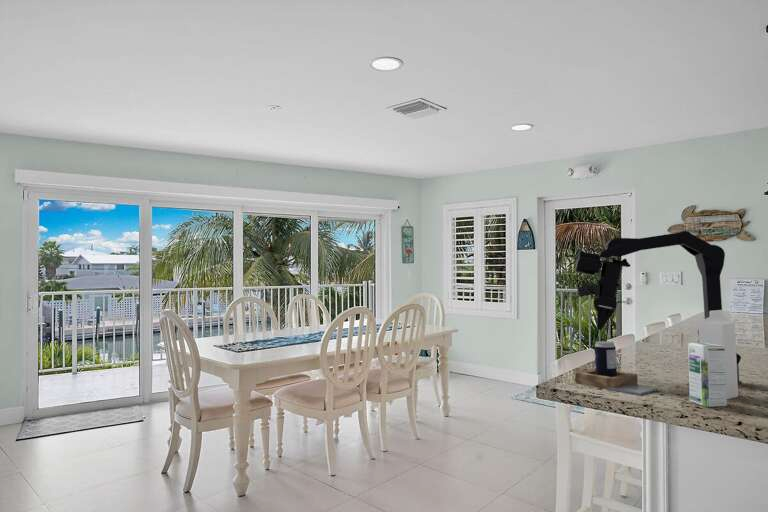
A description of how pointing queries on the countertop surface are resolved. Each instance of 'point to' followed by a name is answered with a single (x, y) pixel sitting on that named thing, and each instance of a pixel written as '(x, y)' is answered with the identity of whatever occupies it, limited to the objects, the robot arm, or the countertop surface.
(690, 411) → the countertop surface
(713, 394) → the syrup box
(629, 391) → the slate coaster
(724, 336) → the milk
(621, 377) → the walnut pocket block
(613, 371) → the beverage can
